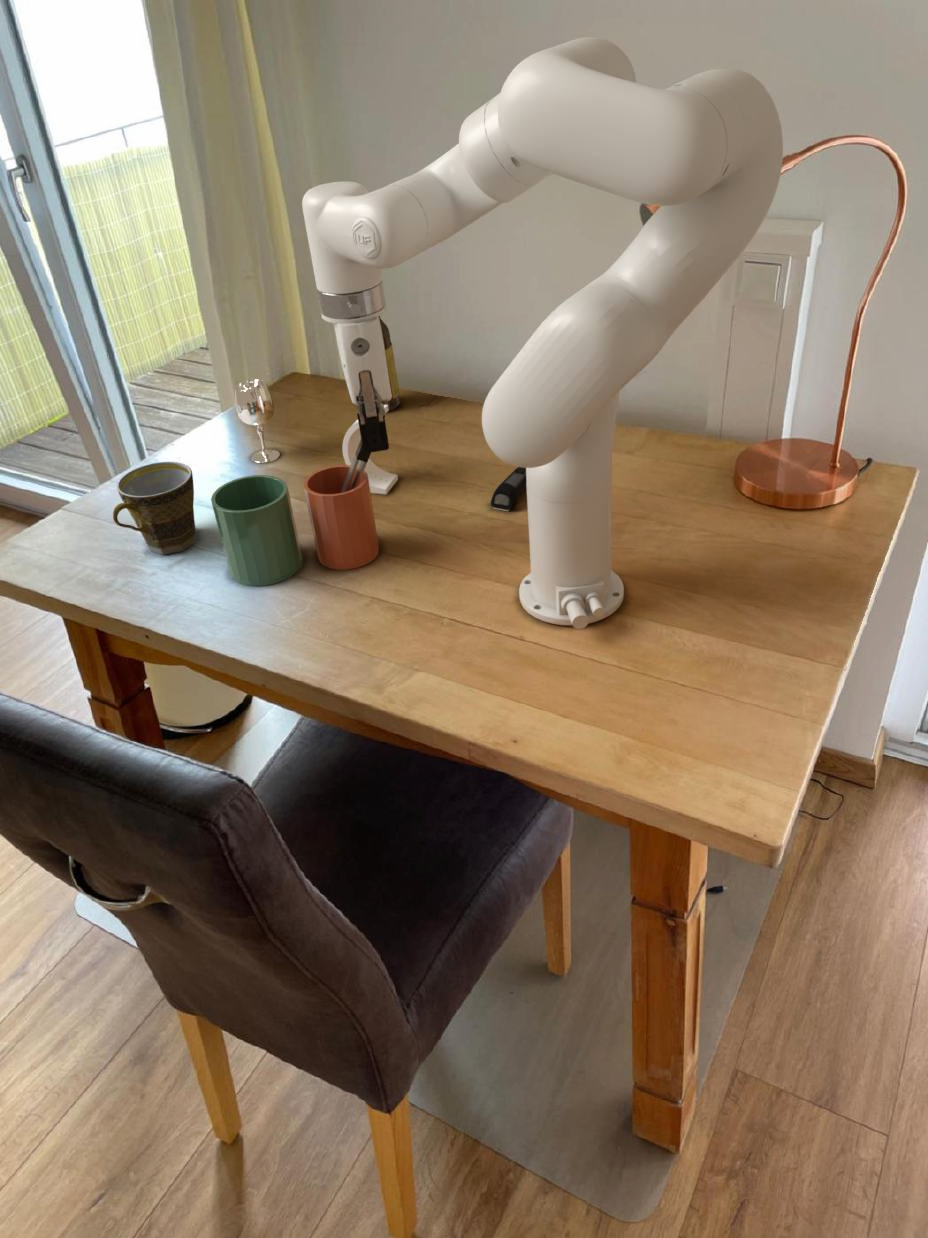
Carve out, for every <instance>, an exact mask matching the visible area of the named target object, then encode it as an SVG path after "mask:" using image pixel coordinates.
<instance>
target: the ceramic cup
mask: <svg viewBox="0 0 928 1238" xmlns="http://www.w3.org/2000/svg"><path fill="white" fill-rule="evenodd" d="M116 489H117V492H118V495H119V496H120V499H121V501H122V502H121V503H118V504H117V505H116V506H114V508H113V511H112V519H113V523H115V524H116V525H117V526H119V527H121V528H126V529H131V530H133V531H136V532H140V533H141V535H142V537H143V540H144V541H145V544H146V545H147V547H148V549H149V551H150V552H151V553H154V554H159V555H161V556H166V555H170V554H175V553H180V552H181V553H182V552H183V551H186V549H188V548H189V547H191V546H192V545H193V544H195V543H196V541H197V533H196V532H197V531H196V521H195V512H194V511H195V508H194V501H195V500H194V499H195V486H194V475H193V470H192V468H191V467H190V466H189V465H187V464H185V463H182V462H177V461H160V462H158V461H157V462H153V463H148V464H145V465H142V466H139V467H136V468H134V469H132V470H130V471H128V472H126V473H125V474H124V475H123V476H122V477H120V479H119V480H118V481H117V484H116ZM125 509H127V511H128V513H129V515H130V517H131V518H132V520H133V521H134V523H135V525H136V526H134V525H132V524H125V523H122V522H120V521H119V519H118V517H119V516H118V515H119V514H120V512H121V511H122V510H125Z"/></svg>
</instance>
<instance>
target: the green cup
mask: <svg viewBox="0 0 928 1238" xmlns="http://www.w3.org/2000/svg"><path fill="white" fill-rule="evenodd" d="M210 501H211V506H212V509H213V513H214V517H215V521H216V525H217V528H218V532H219V537H220V540H221V543H222V547H223V551H224V555H225V558H226V563H227V566H228V570H229V574H230V576H231V578H232V579H233V580H234V581H235V582H236V583H238V584H241V585H244V586H249V587H263V586H269V585H274V584H277V583H281V582H283V581H285V580H287V579H290V578H291V577H292V576H294V575H295V574H296V573H297V572H298V571H299V570H300V569H301V567H302V564H303V553H302V550H301V543H300V540H299V536H298V531H297V525H296V520H295V516H294V512H293V511H294V510H293V507H292V502H291V496H290V492H289V486H288V485H287V482H285V480H283V479H282V478H279V477H277V476H275V475H269V474H253V475H248V476H242V477H238V478H235V479H232V480H230V481H227V482H225V483H224V484H222V485H220V486H219V487H218V488H217V489H216V490H215V491H214V492H213V493H212V495H211V499H210Z"/></svg>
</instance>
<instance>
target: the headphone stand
mask: <svg viewBox="0 0 928 1238" xmlns="http://www.w3.org/2000/svg"><path fill="white" fill-rule="evenodd" d="M384 408H385V415H386V414H387V413H388V412H389V411H388V410H389V409H388V405H384ZM360 440H361V434H360V428H359V423H358V419H357V420H355V422H354V423H352V425H351V426H349V428H348V429H347V430H346V431H345V434H344V437H343V439H342V449H341V450H342V456H343V460H344V463H345V465H351V464H352V461H353V459H354V456H355V454H356V450H357V448H358V445H359V443H360ZM360 463H361V461H360V460H359V462H358V465H357V467H359V466H360ZM364 471H365V472H366V473H367V474H368V480H369V487H370V493H371V494H379V495H387V494H388V493H389V492H390V491H391V489H392V488H393V487H394V486H395V484H396V483H398V482H397V481H398V480H399V476H398V474H396V473H391V472H388V471H387V470H384V469H382V468H380V467H379V466H378V465H376V464H375V462H373V461H372V460H371V459H370V458H369V459H368V462H367V464H366V467H365V469H364Z"/></svg>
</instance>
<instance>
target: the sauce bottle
mask: <svg viewBox="0 0 928 1238" xmlns="http://www.w3.org/2000/svg"><path fill="white" fill-rule="evenodd" d="M379 321H380V325H381V330H382V335H383V341H384V348H385V354H386V361H387V368H388V375H389V381H390V387H391V393H392V398H391V399H390V400H389V401H387V399H386V400H382V398H381V397H380V400H381V401H380V402H381V403H383V405H388V409H389V410H388V412H390V411H393V410H395V409H396V408H397V407H398V406H399V405H400V404H401V397H400V387H399V381H398V375H397V368H396V361H395V355H394V349H393V343H392V341H391V335H390V334H391V333H390V329H389V328H388V326H387V324H386V323H385V322H384V321H383V320H382V319H381V315H380V316H379ZM373 395H374V394H373ZM379 396H380V395H379Z"/></svg>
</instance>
